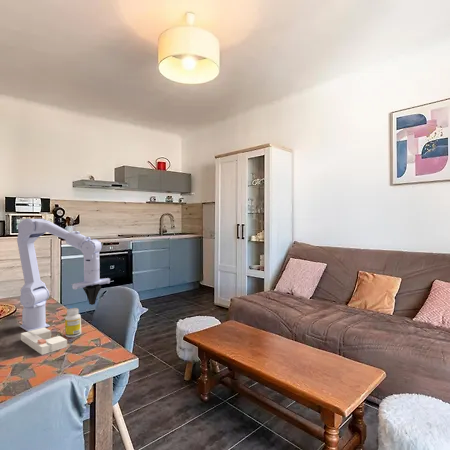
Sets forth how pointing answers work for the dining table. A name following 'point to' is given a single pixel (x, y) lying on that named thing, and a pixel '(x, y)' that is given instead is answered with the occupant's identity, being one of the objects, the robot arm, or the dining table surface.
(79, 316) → the supplement bottle
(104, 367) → the dining table surface
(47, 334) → the socket dock
